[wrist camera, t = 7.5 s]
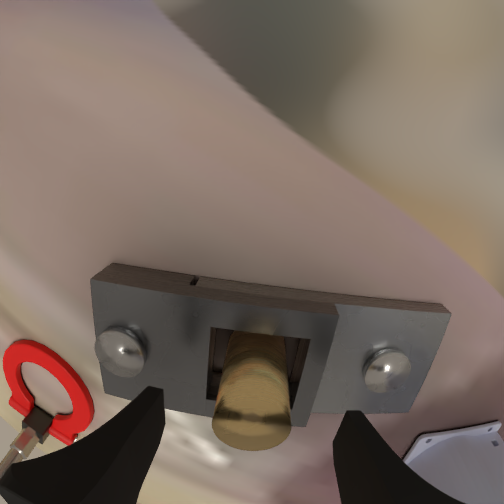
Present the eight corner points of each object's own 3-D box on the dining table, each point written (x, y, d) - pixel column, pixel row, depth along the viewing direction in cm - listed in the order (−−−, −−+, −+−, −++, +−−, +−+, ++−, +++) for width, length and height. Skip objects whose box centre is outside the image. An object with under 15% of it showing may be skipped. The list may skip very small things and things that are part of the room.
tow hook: (13, 315, 18) (9, 392, 20) (-107, 410, 5) (-68, 480, 7) (106, 378, 19) (86, 444, 21) (14, 527, 6) (27, 556, 8)
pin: (289, 325, 16) (299, 405, 10) (279, 371, 17) (282, 453, 11) (231, 317, 16) (214, 395, 10) (225, 363, 17) (209, 445, 11)
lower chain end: (441, 304, 15) (456, 318, 14) (402, 400, 17) (411, 418, 16) (200, 276, 16) (192, 290, 14) (194, 385, 18) (188, 405, 16)
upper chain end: (329, 293, 16) (342, 321, 13) (302, 398, 17) (306, 434, 15) (112, 262, 16) (84, 283, 13) (120, 369, 18) (100, 399, 15)
